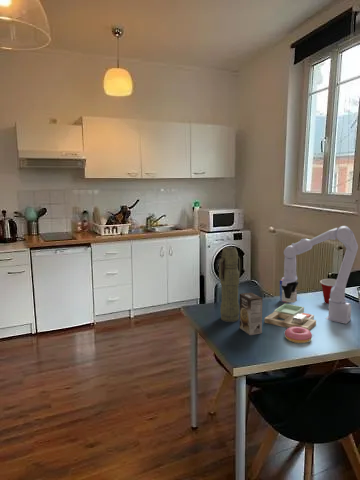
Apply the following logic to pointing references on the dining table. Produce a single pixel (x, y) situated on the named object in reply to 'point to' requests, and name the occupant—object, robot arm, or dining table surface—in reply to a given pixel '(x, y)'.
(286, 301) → the ink cartridge box
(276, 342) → the dining table surface
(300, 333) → the doughnut
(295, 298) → the billet
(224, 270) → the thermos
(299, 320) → the block
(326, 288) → the plastic cup
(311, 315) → the button housing
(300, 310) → the tote
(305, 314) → the button
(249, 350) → the dining table surface
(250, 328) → the coffee box
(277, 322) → the tan open frame
